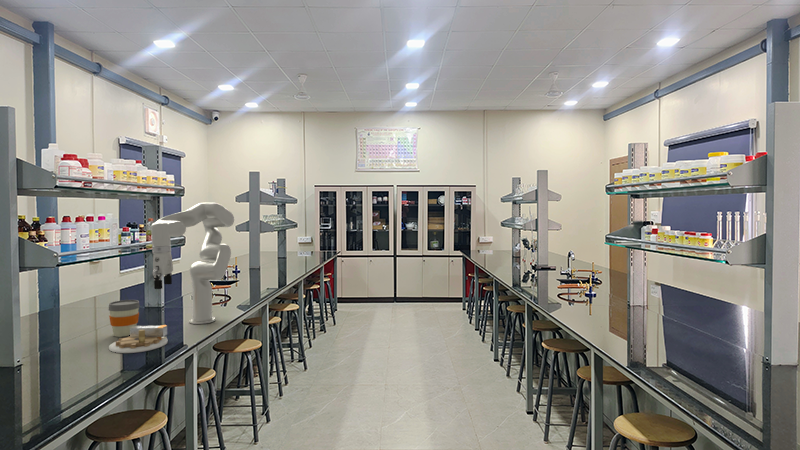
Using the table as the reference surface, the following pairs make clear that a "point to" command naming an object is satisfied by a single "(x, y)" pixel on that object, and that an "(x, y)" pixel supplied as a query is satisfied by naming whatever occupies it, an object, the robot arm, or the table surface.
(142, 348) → the base plate
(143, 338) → the sprocket wheel
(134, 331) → the white rectangular box
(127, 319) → the reusable coffee cup
